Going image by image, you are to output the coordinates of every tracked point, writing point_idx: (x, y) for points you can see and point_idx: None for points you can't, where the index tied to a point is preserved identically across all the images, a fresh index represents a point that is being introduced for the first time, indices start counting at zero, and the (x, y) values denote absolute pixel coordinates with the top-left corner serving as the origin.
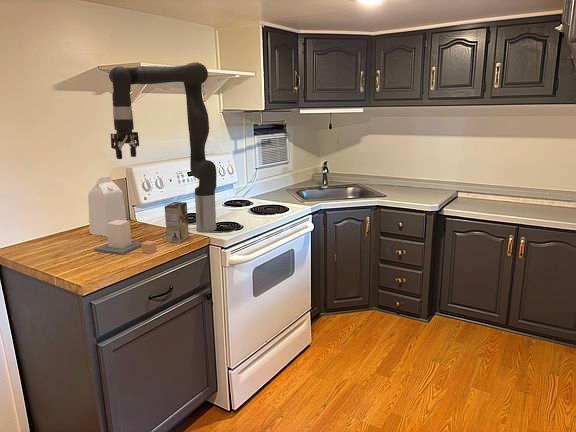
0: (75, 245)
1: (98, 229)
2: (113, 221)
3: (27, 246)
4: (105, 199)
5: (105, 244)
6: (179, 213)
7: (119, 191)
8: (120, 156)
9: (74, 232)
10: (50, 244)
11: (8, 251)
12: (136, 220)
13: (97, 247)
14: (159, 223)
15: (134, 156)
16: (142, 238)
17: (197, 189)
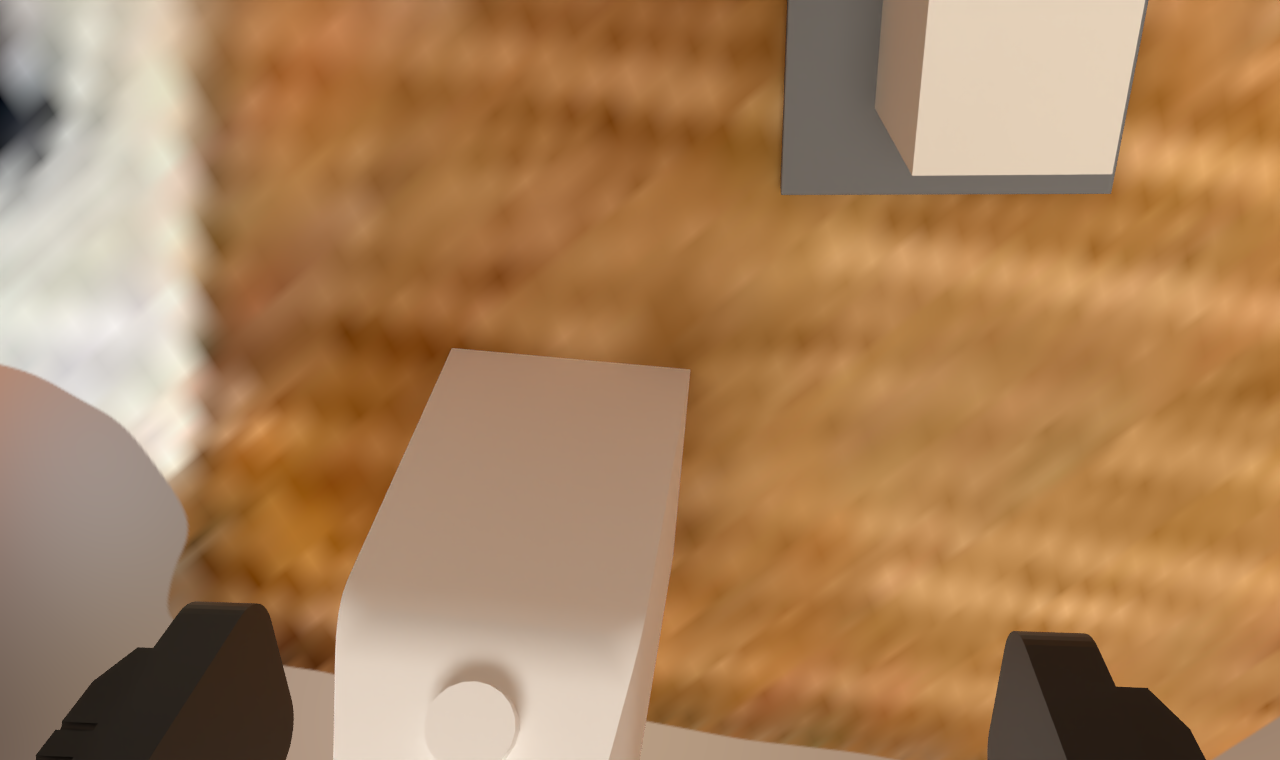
0: (991, 440)
1: (676, 495)
2: (1006, 154)
3: None
4: (642, 598)
5: (969, 187)
6: None
7: (381, 618)
8: (1116, 717)
9: (693, 664)
10: (1014, 612)
11: (1225, 730)
12: (181, 475)
13: (1072, 191)
14: (124, 222)
15: (258, 621)
16: (613, 29)
17: None
